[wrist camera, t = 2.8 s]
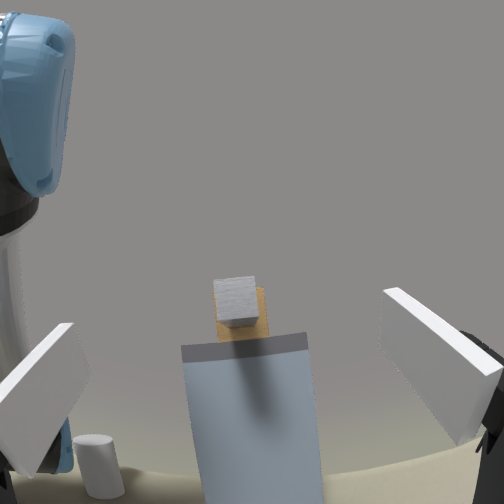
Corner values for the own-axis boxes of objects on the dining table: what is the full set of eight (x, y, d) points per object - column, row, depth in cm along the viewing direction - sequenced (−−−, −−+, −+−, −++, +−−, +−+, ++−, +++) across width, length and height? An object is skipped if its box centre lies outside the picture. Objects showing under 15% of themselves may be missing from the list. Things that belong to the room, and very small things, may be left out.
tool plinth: (325, 540, 25) (306, 331, 33) (218, 553, 24) (180, 345, 32) (305, 493, 40) (288, 335, 48) (225, 503, 39) (202, 344, 48)
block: (282, 334, 21) (271, 254, 23) (198, 343, 21) (192, 262, 23) (264, 338, 44) (260, 298, 46) (224, 342, 44) (220, 303, 46)
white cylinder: (120, 482, 46) (109, 433, 49) (128, 497, 39) (115, 443, 43) (84, 484, 41) (72, 434, 44) (89, 500, 35) (73, 446, 38)
